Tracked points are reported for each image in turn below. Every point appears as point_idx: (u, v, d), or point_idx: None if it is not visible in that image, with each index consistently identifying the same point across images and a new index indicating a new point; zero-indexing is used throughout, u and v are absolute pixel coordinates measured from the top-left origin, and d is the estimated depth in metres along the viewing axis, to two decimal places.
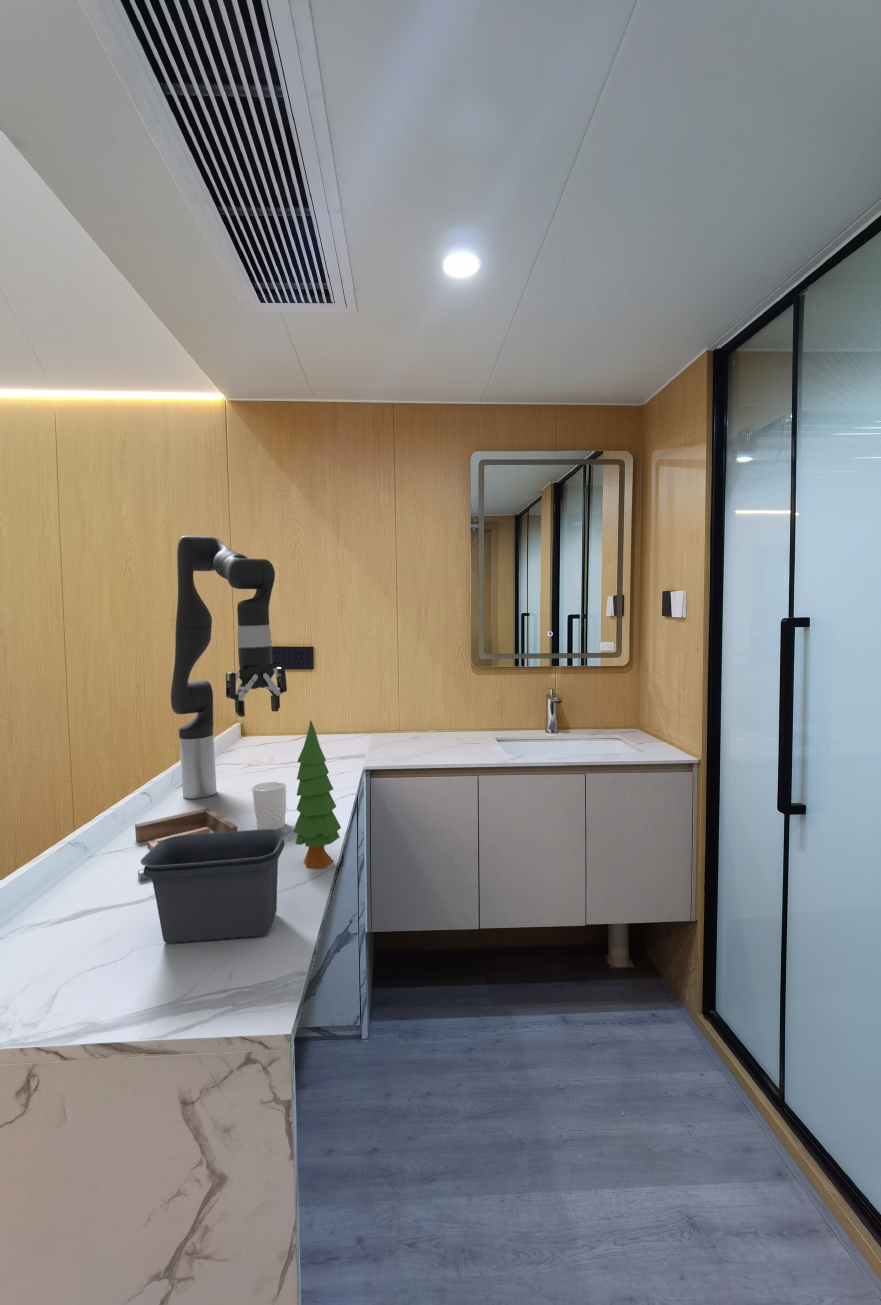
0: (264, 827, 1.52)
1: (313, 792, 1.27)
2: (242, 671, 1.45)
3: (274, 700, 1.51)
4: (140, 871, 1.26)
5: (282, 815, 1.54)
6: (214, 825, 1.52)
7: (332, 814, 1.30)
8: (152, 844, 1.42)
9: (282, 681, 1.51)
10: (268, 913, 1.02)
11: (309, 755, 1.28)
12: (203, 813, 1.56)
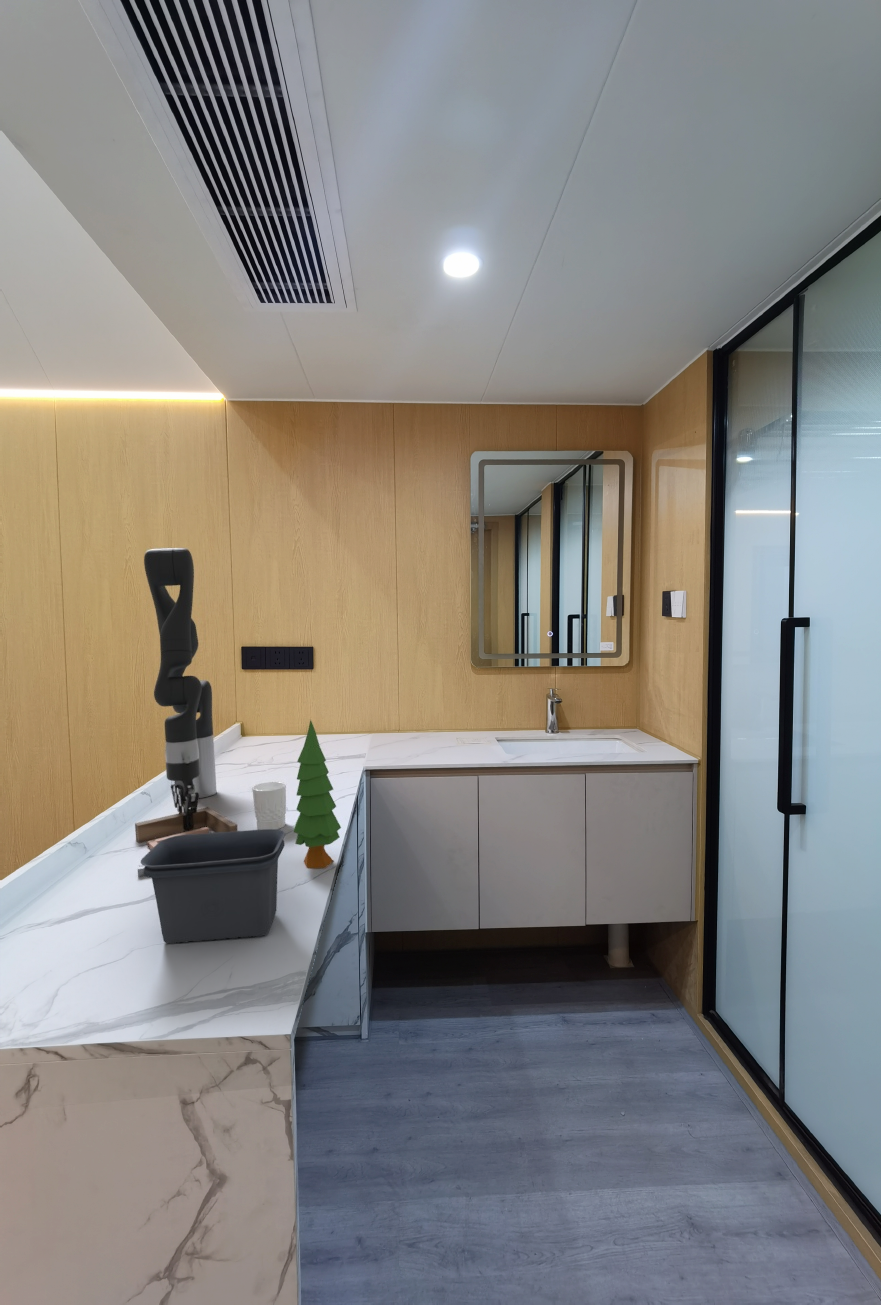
0: (264, 827, 1.52)
1: (313, 792, 1.27)
2: (193, 786, 1.52)
3: None
4: (139, 867, 1.28)
5: (282, 815, 1.54)
6: (214, 824, 1.52)
7: (332, 814, 1.30)
8: (152, 844, 1.42)
9: None
10: (268, 913, 1.02)
11: (309, 755, 1.28)
12: (203, 812, 1.56)
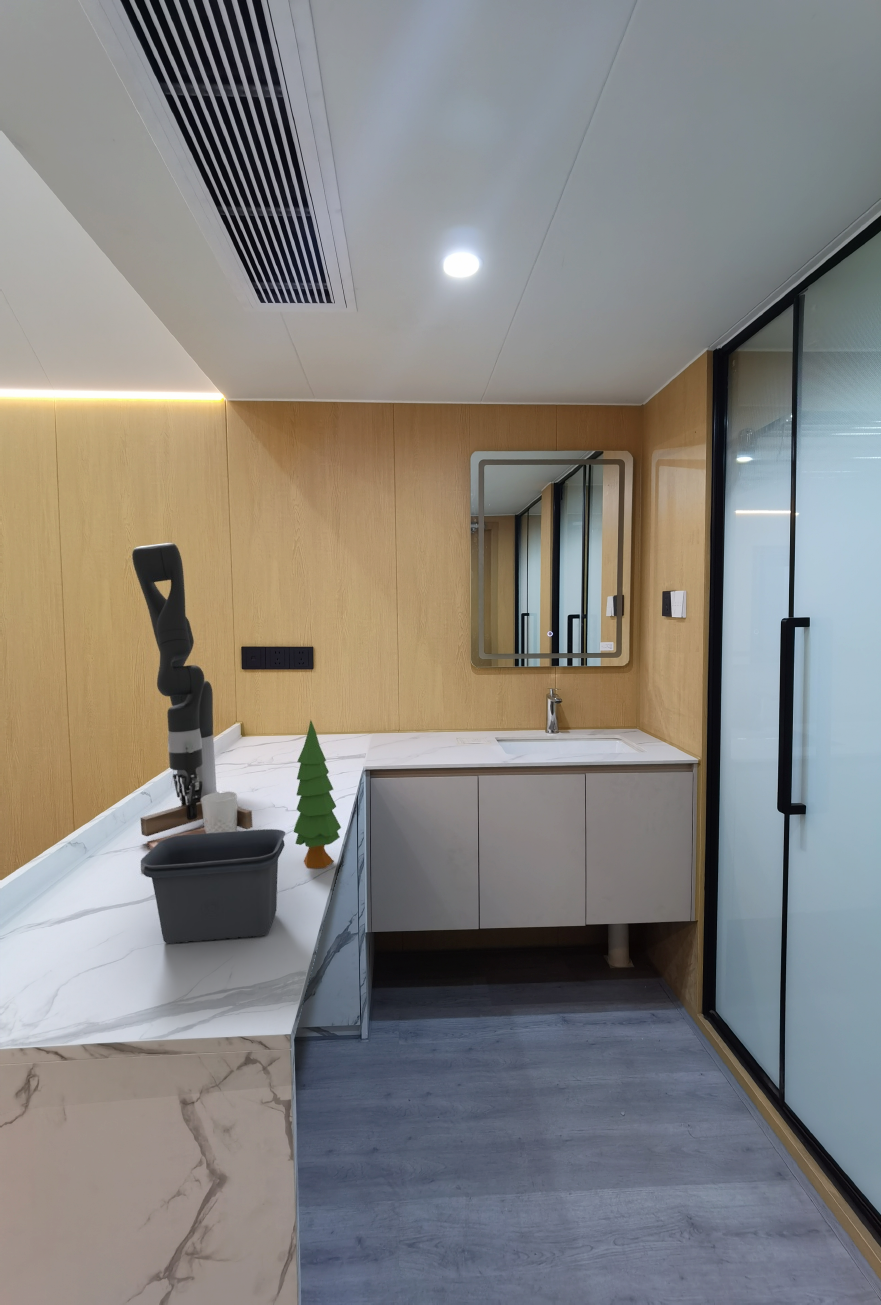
0: None
1: (313, 792, 1.27)
2: (196, 775, 1.52)
3: None
4: None
5: (234, 826, 1.47)
6: None
7: (332, 814, 1.30)
8: (152, 844, 1.42)
9: None
10: (268, 913, 1.02)
11: (309, 755, 1.28)
12: None
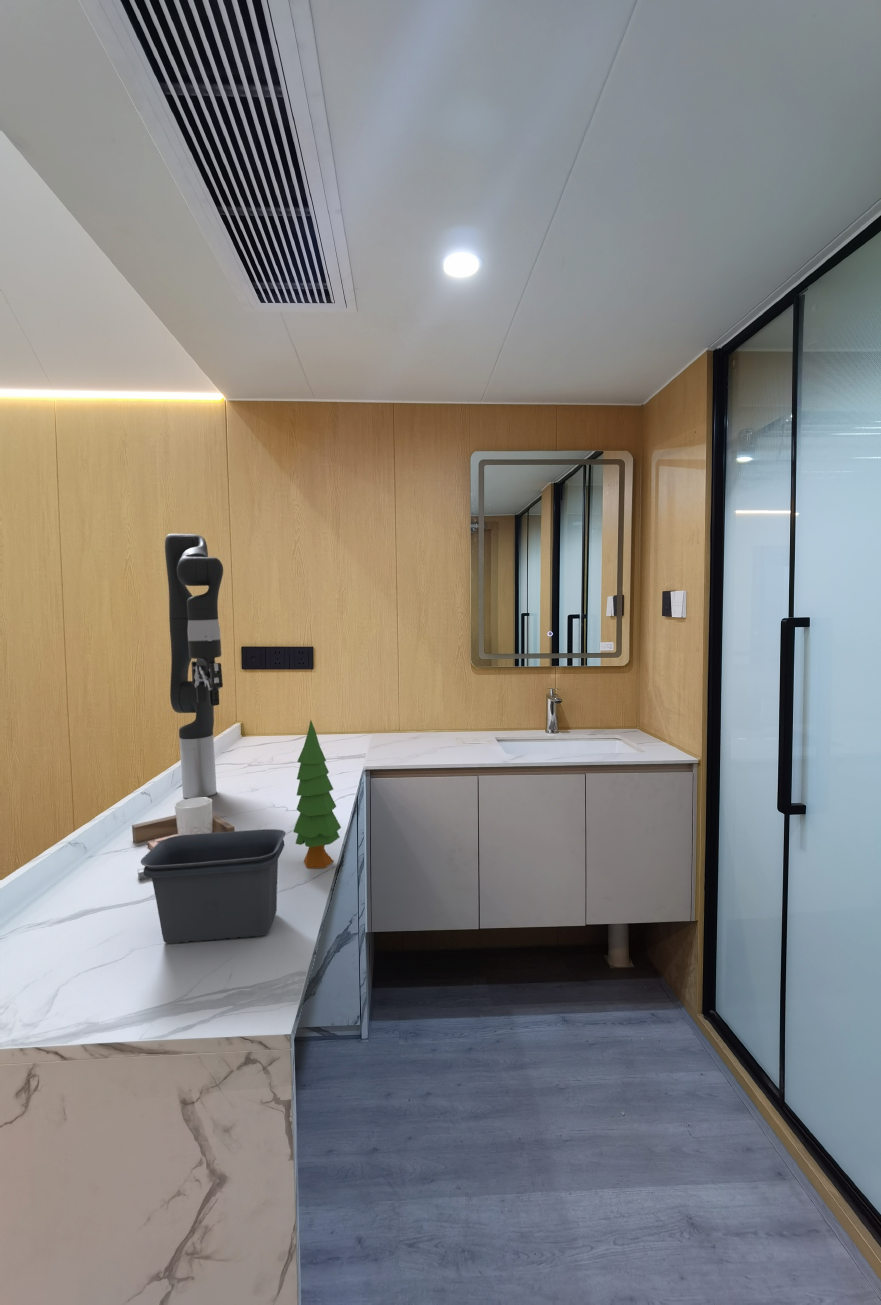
0: None
1: (313, 792, 1.27)
2: (214, 662, 1.54)
3: (204, 691, 1.61)
4: (139, 870, 1.26)
5: (210, 832, 1.43)
6: None
7: (332, 814, 1.30)
8: (152, 844, 1.42)
9: None
10: (268, 913, 1.02)
11: (309, 755, 1.28)
12: None
